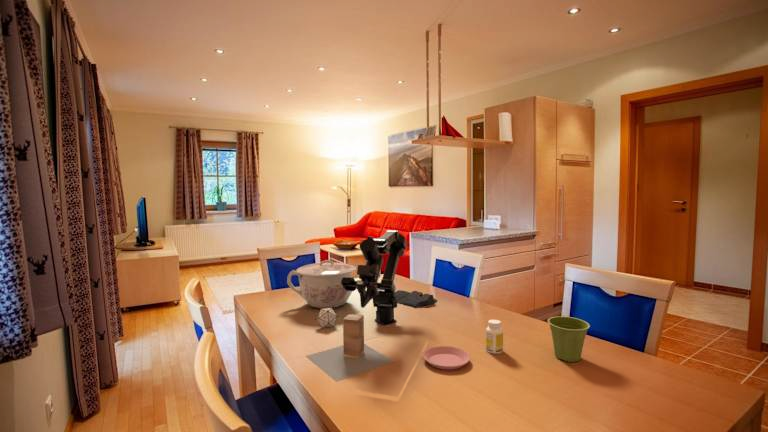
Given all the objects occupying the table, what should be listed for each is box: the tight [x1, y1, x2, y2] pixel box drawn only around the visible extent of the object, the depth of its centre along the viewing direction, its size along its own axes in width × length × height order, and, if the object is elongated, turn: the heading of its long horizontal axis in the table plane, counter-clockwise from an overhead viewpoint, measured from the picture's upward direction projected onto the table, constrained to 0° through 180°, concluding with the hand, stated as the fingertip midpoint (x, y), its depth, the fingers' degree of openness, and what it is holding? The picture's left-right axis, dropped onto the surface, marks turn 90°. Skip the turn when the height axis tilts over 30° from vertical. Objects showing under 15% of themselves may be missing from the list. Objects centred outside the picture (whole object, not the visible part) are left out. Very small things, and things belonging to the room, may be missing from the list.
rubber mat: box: [305, 343, 395, 382], centre depth 120 cm, size 20×20×1 cm
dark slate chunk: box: [395, 289, 438, 309], centre depth 183 cm, size 15×22×5 cm
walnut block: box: [342, 313, 365, 358], centre depth 123 cm, size 5×5×12 cm
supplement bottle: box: [485, 319, 504, 355], centre depth 126 cm, size 5×5×10 cm
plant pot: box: [547, 315, 591, 363], centre depth 121 cm, size 12×12×11 cm
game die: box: [314, 306, 340, 330], centre depth 149 cm, size 9×8×10 cm
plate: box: [422, 345, 471, 371], centre depth 119 cm, size 14×14×2 cm
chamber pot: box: [286, 259, 358, 309], centre depth 178 cm, size 28×28×21 cm
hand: (362, 307), depth 130 cm, fingers closed
